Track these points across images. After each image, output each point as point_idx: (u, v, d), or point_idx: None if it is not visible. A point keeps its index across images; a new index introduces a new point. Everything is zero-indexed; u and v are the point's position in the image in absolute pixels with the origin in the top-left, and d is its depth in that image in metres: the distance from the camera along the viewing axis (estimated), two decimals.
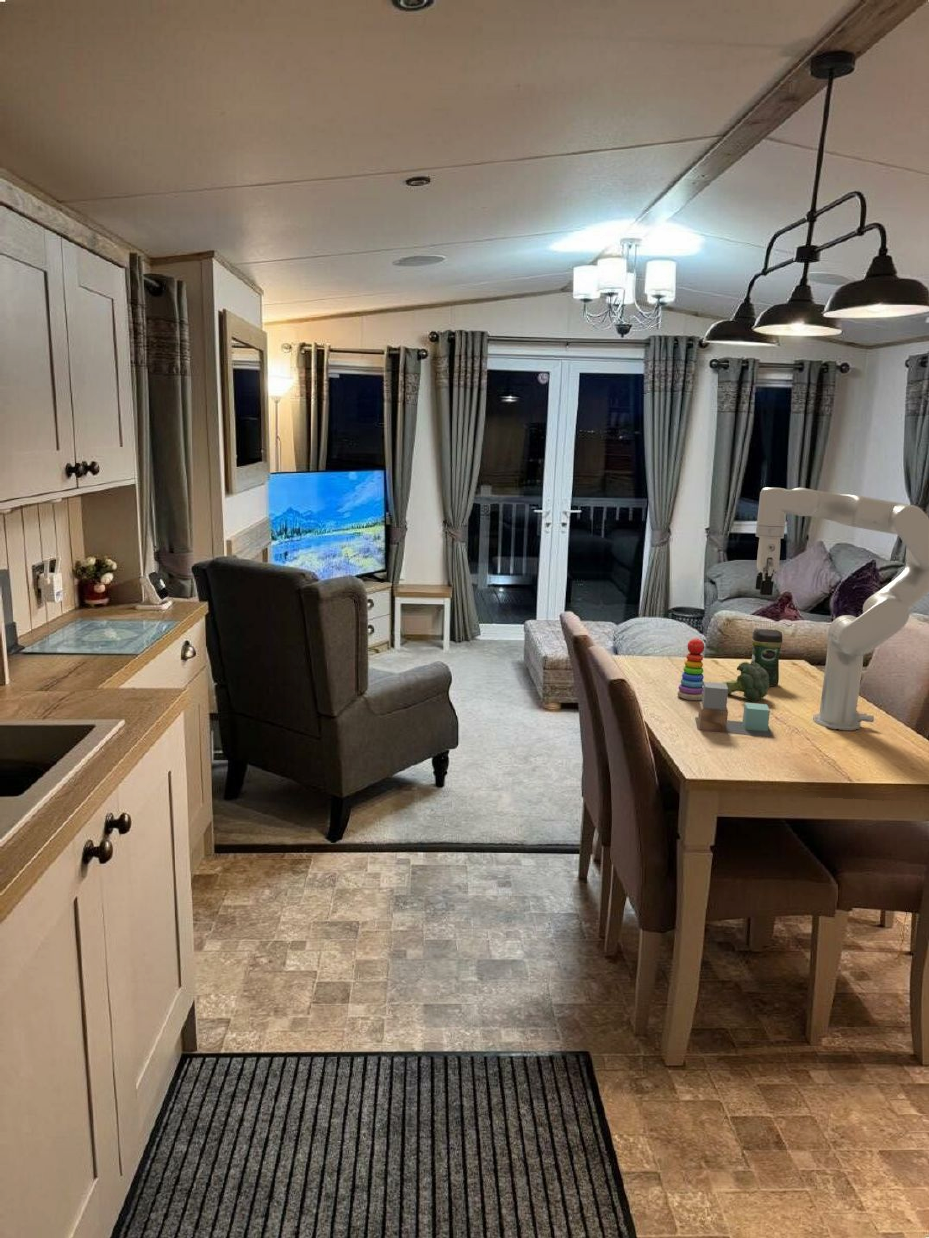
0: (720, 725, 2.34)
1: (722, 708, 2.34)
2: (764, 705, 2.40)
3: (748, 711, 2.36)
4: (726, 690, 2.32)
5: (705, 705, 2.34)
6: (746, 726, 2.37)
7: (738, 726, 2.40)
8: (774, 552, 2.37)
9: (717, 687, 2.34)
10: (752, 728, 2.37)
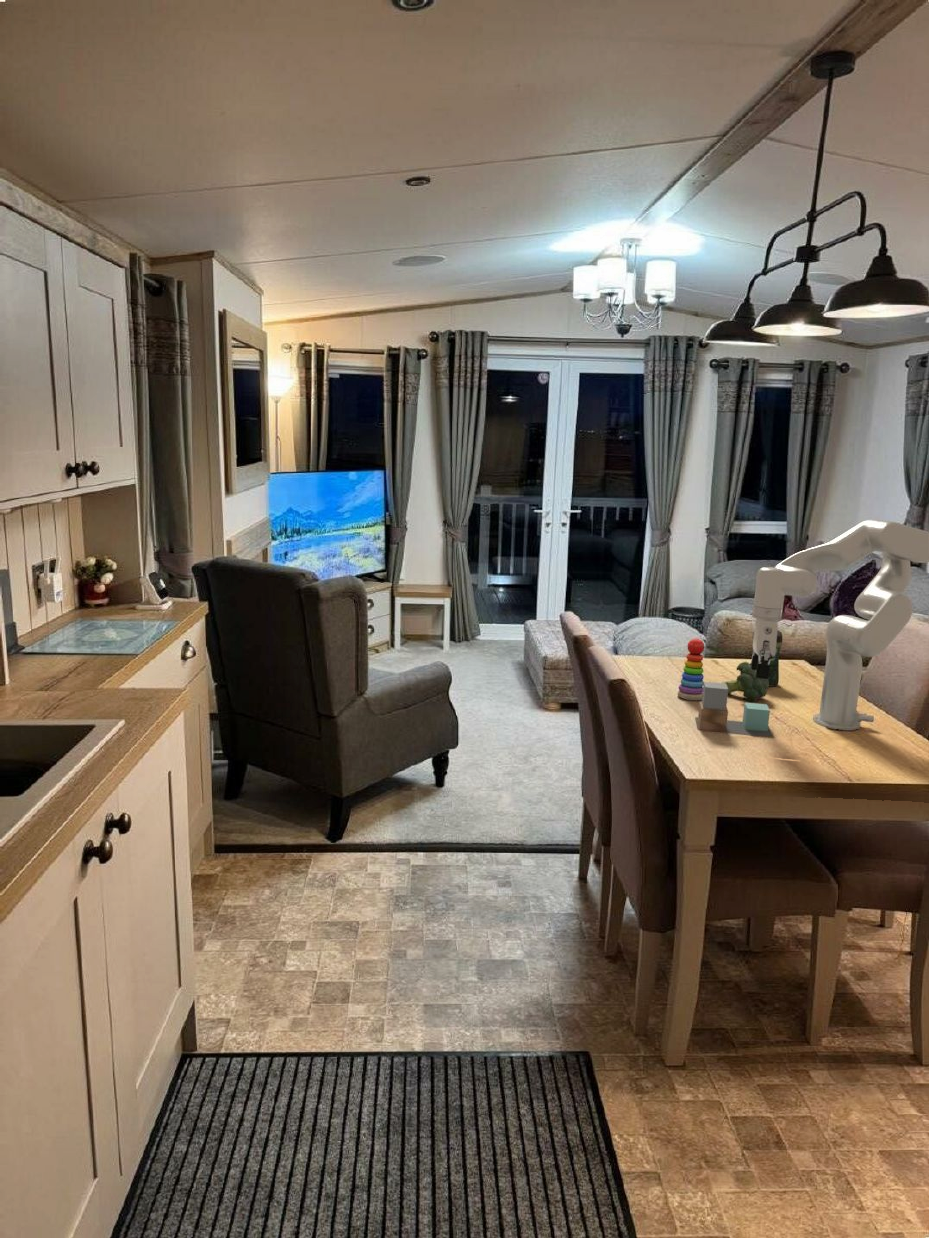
0: (720, 725, 2.34)
1: (722, 708, 2.34)
2: (764, 705, 2.40)
3: (748, 711, 2.36)
4: (726, 690, 2.32)
5: (705, 705, 2.34)
6: (746, 726, 2.37)
7: (738, 726, 2.40)
8: (771, 635, 2.29)
9: (717, 687, 2.34)
10: (752, 728, 2.37)
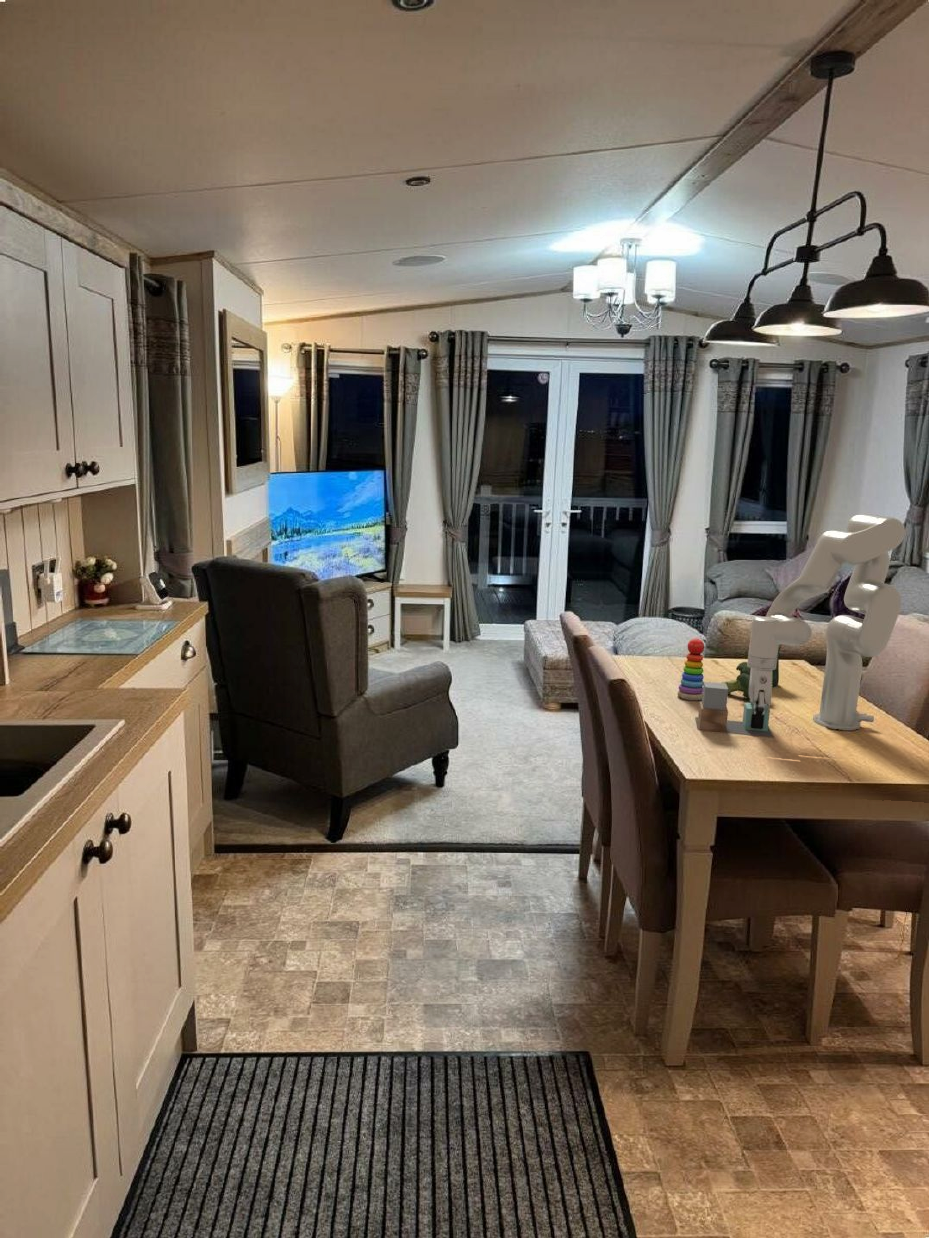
0: (720, 725, 2.34)
1: (722, 708, 2.34)
2: None
3: (748, 711, 2.36)
4: (726, 690, 2.32)
5: (705, 705, 2.34)
6: (746, 726, 2.37)
7: (738, 726, 2.40)
8: (766, 684, 2.32)
9: (717, 687, 2.34)
10: (752, 728, 2.37)
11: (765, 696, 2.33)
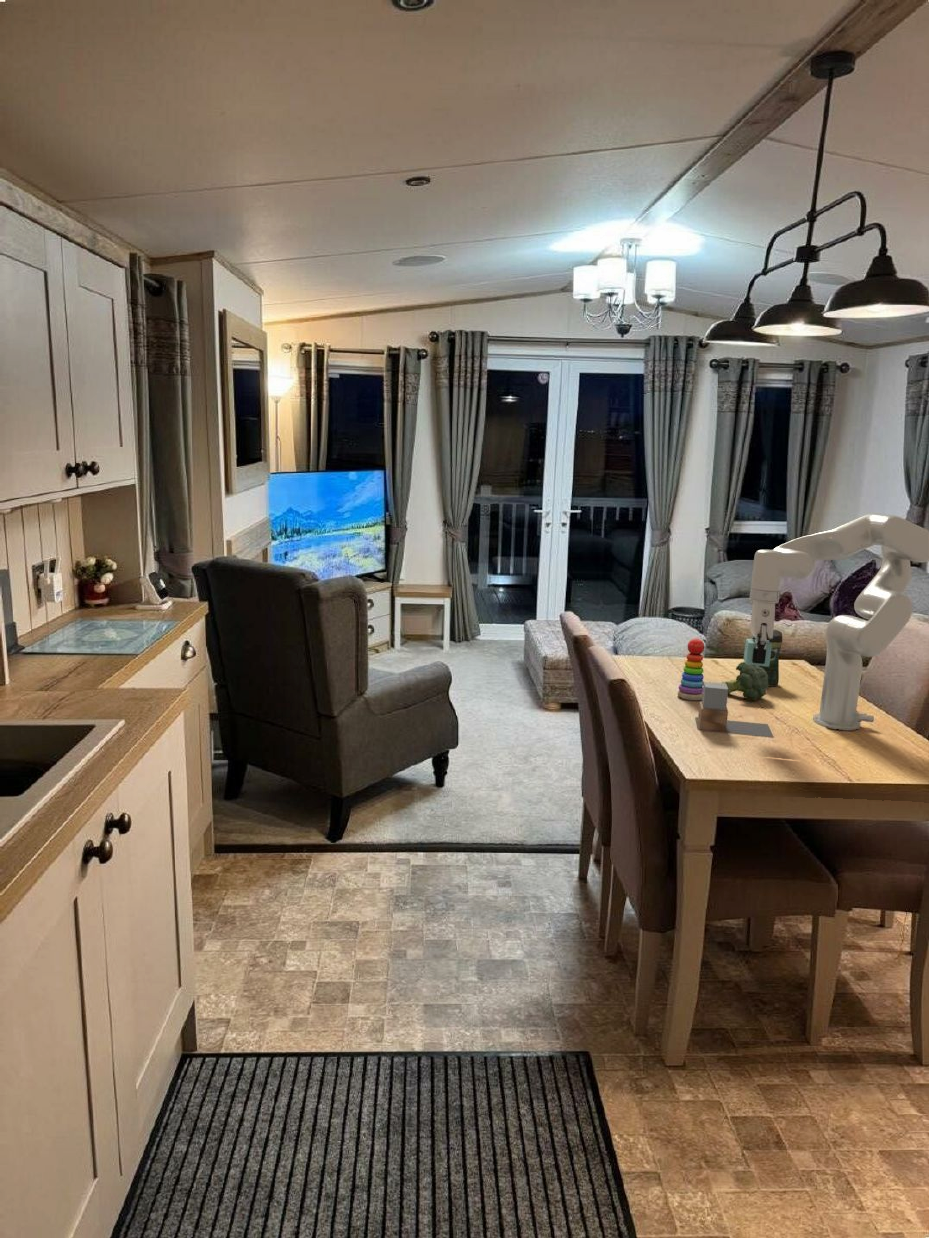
0: (720, 725, 2.34)
1: (722, 708, 2.34)
2: None
3: (750, 646, 2.32)
4: (726, 690, 2.32)
5: (705, 705, 2.34)
6: (747, 661, 2.33)
7: (738, 726, 2.40)
8: (768, 617, 2.28)
9: (717, 687, 2.34)
10: (753, 663, 2.33)
11: (767, 629, 2.29)
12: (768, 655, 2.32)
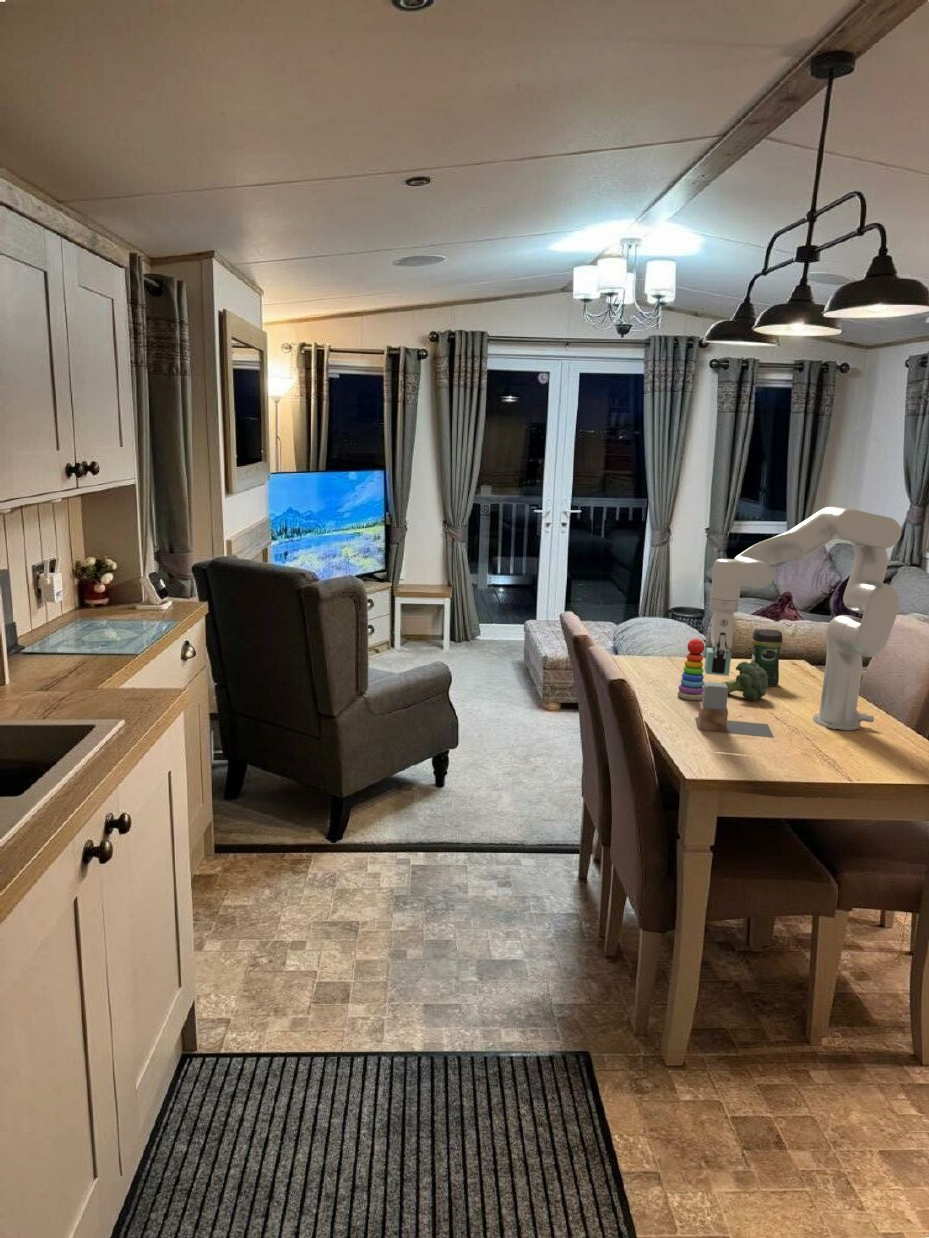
0: (720, 725, 2.34)
1: (722, 708, 2.34)
2: (726, 649, 2.35)
3: (709, 655, 2.32)
4: (726, 690, 2.32)
5: (705, 705, 2.34)
6: (707, 670, 2.32)
7: (738, 726, 2.40)
8: (727, 627, 2.27)
9: (717, 687, 2.34)
10: None
11: (726, 639, 2.28)
12: (728, 664, 2.31)
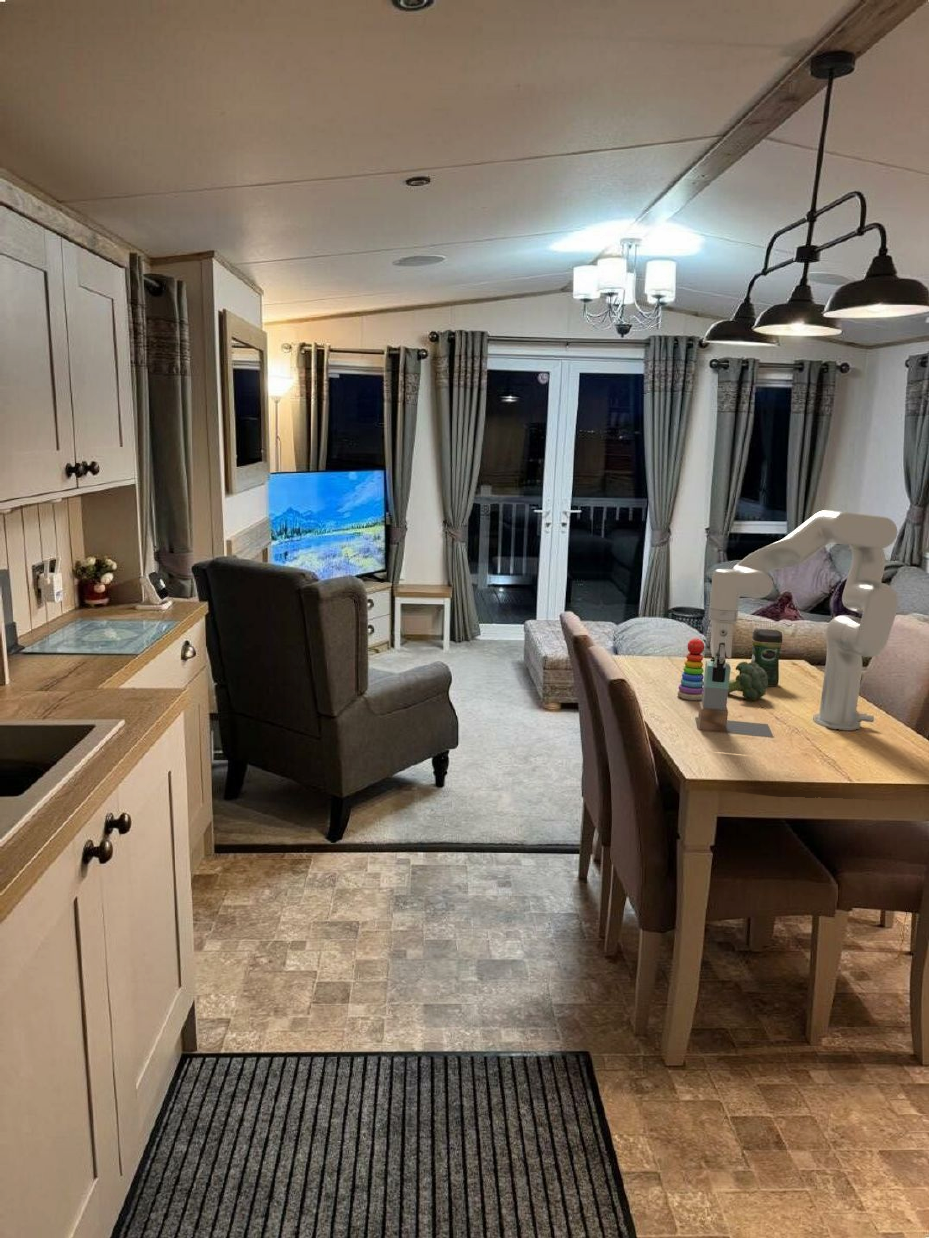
0: (720, 725, 2.34)
1: (722, 708, 2.34)
2: (726, 663, 2.36)
3: (709, 668, 2.32)
4: (726, 690, 2.32)
5: (705, 705, 2.34)
6: (707, 684, 2.33)
7: (738, 726, 2.40)
8: (726, 637, 2.28)
9: None
10: (713, 686, 2.33)
11: (725, 649, 2.28)
12: (727, 678, 2.32)
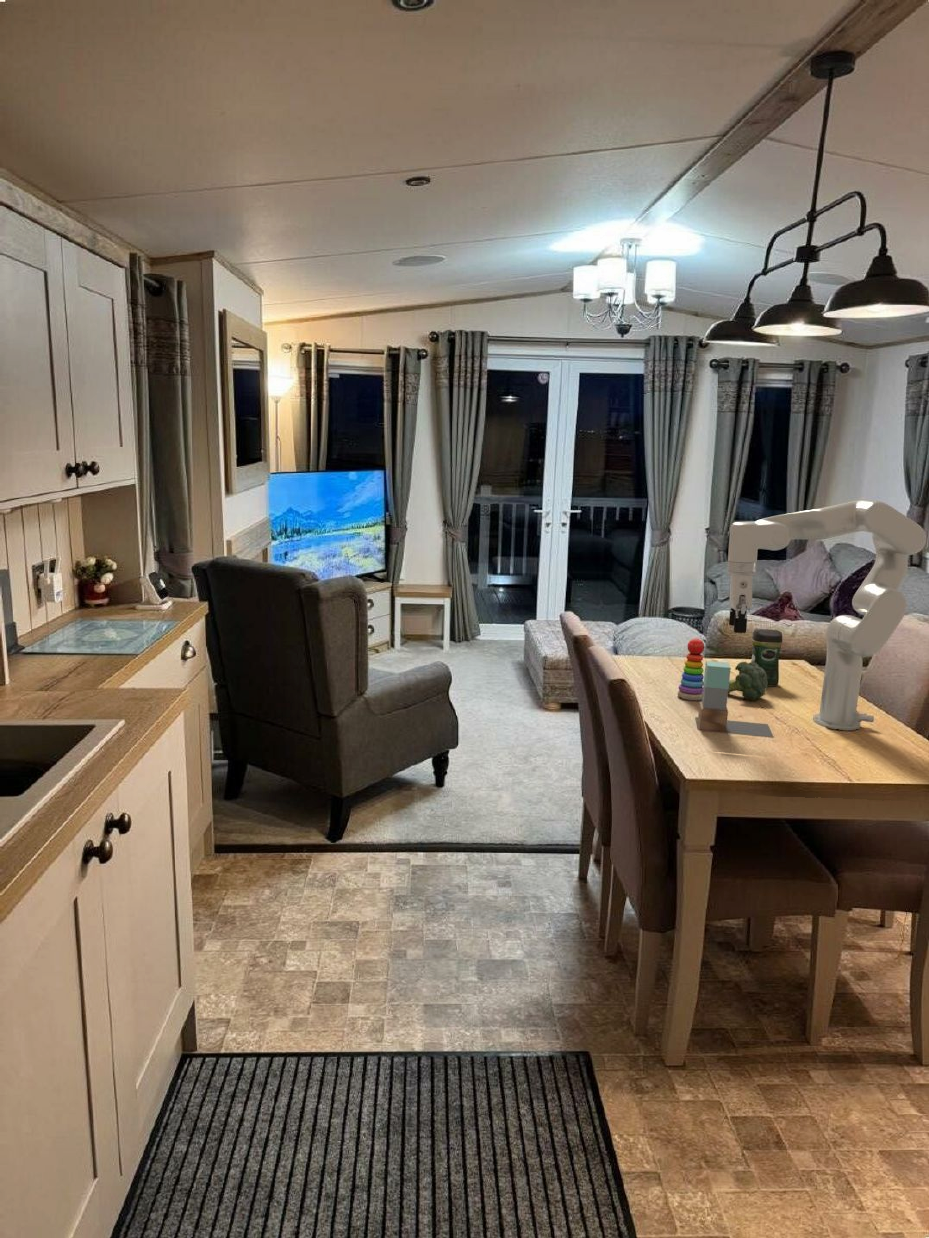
0: (720, 725, 2.34)
1: (722, 708, 2.34)
2: (726, 663, 2.36)
3: (709, 668, 2.32)
4: (726, 690, 2.32)
5: (705, 705, 2.34)
6: (707, 684, 2.33)
7: (738, 726, 2.40)
8: (746, 589, 2.31)
9: None
10: (713, 686, 2.33)
11: (746, 601, 2.31)
12: (727, 678, 2.32)
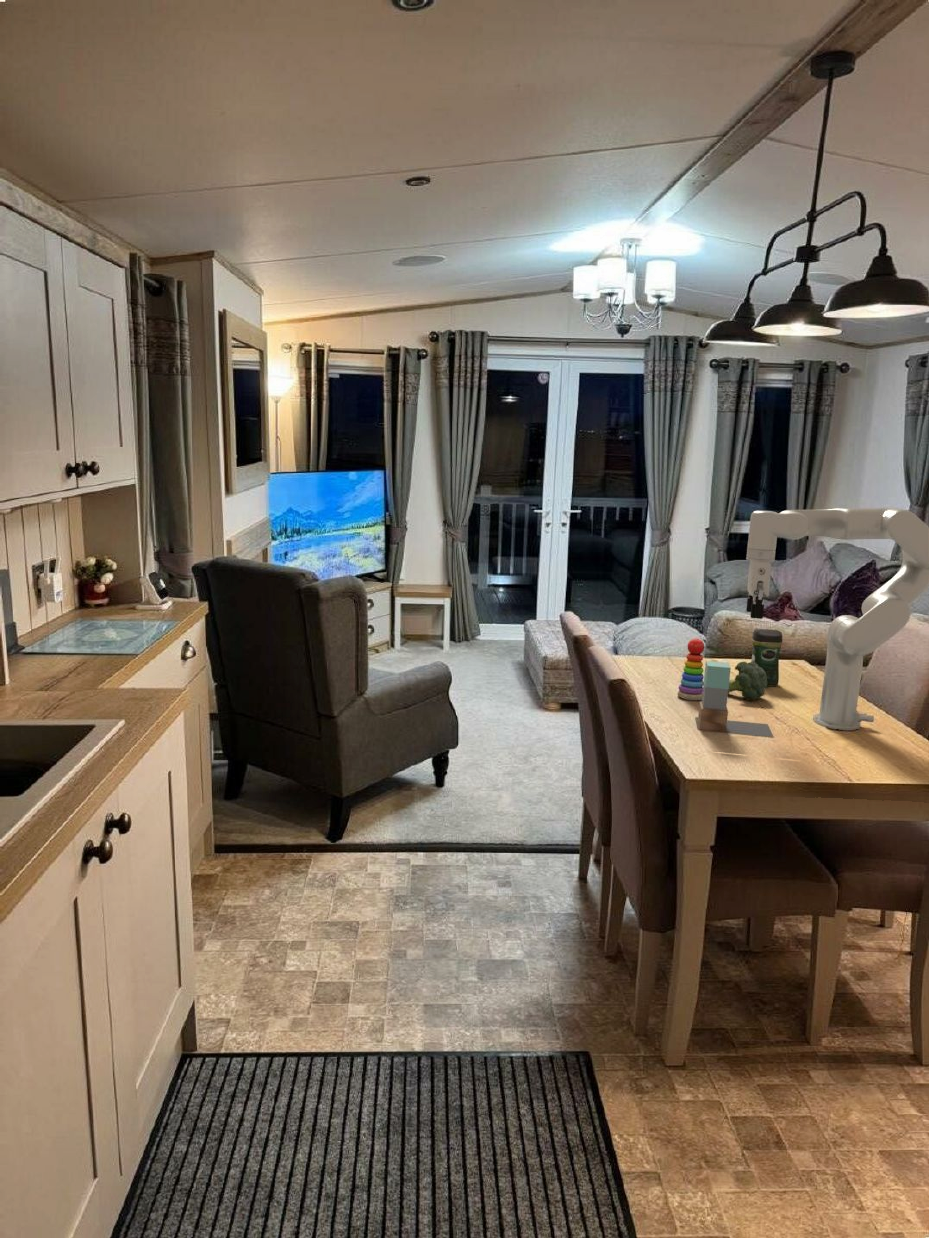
0: (720, 725, 2.34)
1: (722, 708, 2.34)
2: (726, 663, 2.36)
3: (709, 668, 2.32)
4: (726, 690, 2.32)
5: (705, 705, 2.34)
6: (707, 684, 2.33)
7: (738, 726, 2.40)
8: (764, 576, 2.37)
9: None
10: (713, 686, 2.33)
11: (764, 587, 2.37)
12: (727, 678, 2.32)
